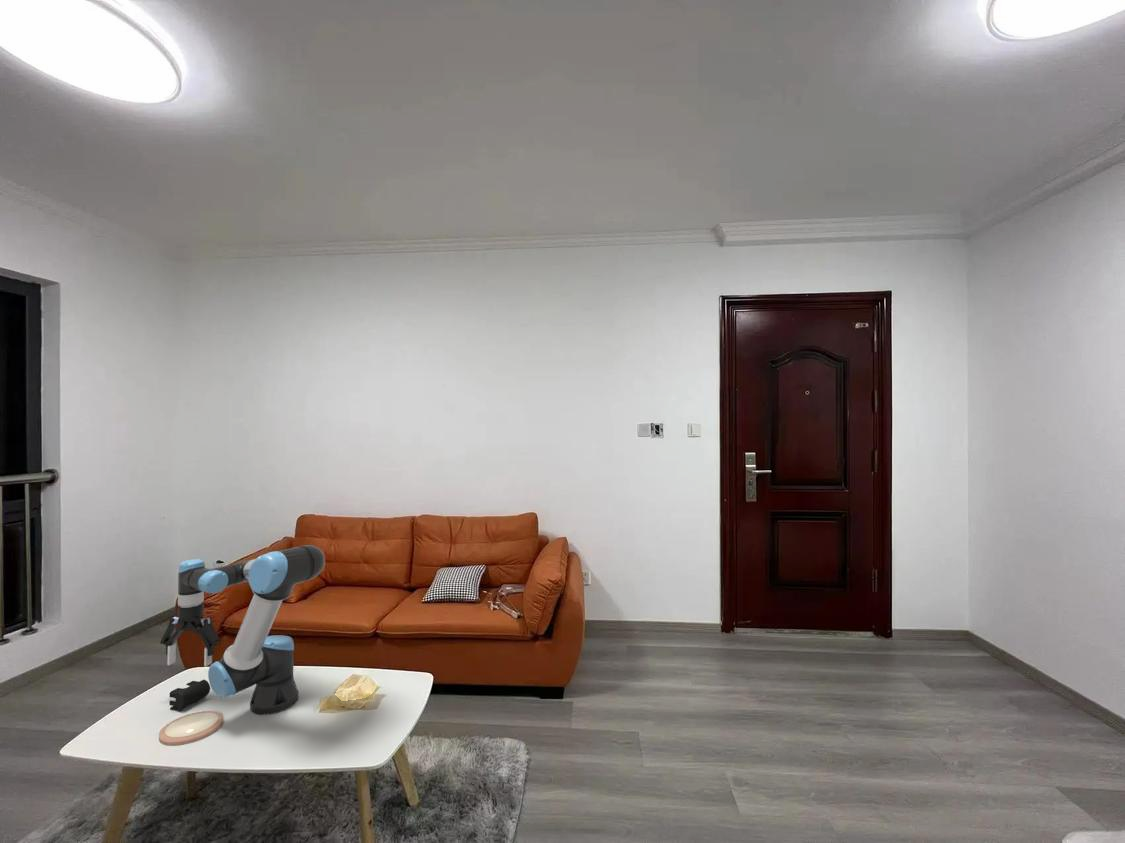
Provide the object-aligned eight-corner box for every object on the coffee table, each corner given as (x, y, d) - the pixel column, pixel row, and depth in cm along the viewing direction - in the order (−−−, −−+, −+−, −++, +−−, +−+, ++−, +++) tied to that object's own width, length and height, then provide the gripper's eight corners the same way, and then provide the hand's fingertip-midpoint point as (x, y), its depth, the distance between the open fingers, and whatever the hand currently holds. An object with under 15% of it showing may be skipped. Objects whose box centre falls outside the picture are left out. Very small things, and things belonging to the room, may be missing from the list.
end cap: (183, 713, 177) (183, 693, 177) (167, 710, 179) (168, 690, 179) (210, 699, 187) (210, 680, 187) (195, 696, 189) (195, 677, 189)
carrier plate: (235, 716, 175) (235, 710, 175) (197, 746, 158) (197, 740, 158) (187, 714, 176) (187, 709, 176) (144, 744, 159) (144, 739, 159)
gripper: (231, 601, 187) (230, 660, 187) (166, 599, 188) (164, 658, 188) (216, 608, 179) (215, 670, 179) (148, 606, 181) (147, 667, 180)
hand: (189, 664), depth 183 cm, fingers open, 13 cm apart
